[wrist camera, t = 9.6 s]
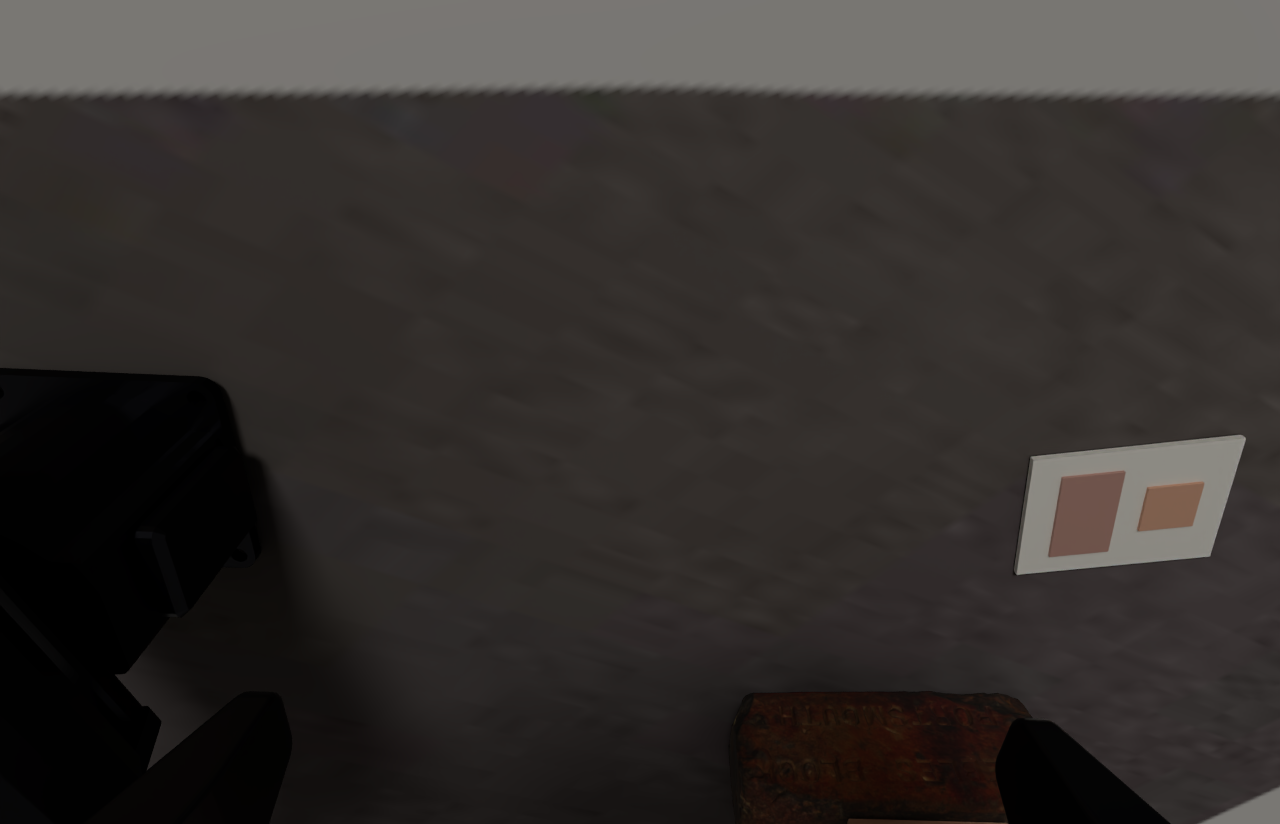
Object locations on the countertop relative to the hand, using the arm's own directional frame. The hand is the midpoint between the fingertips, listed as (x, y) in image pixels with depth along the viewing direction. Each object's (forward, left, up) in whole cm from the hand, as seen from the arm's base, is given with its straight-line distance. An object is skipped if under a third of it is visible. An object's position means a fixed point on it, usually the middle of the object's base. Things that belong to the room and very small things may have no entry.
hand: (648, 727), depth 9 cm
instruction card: (+15, -5, -12) cm, 20 cm away
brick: (+9, -15, -13) cm, 22 cm away
